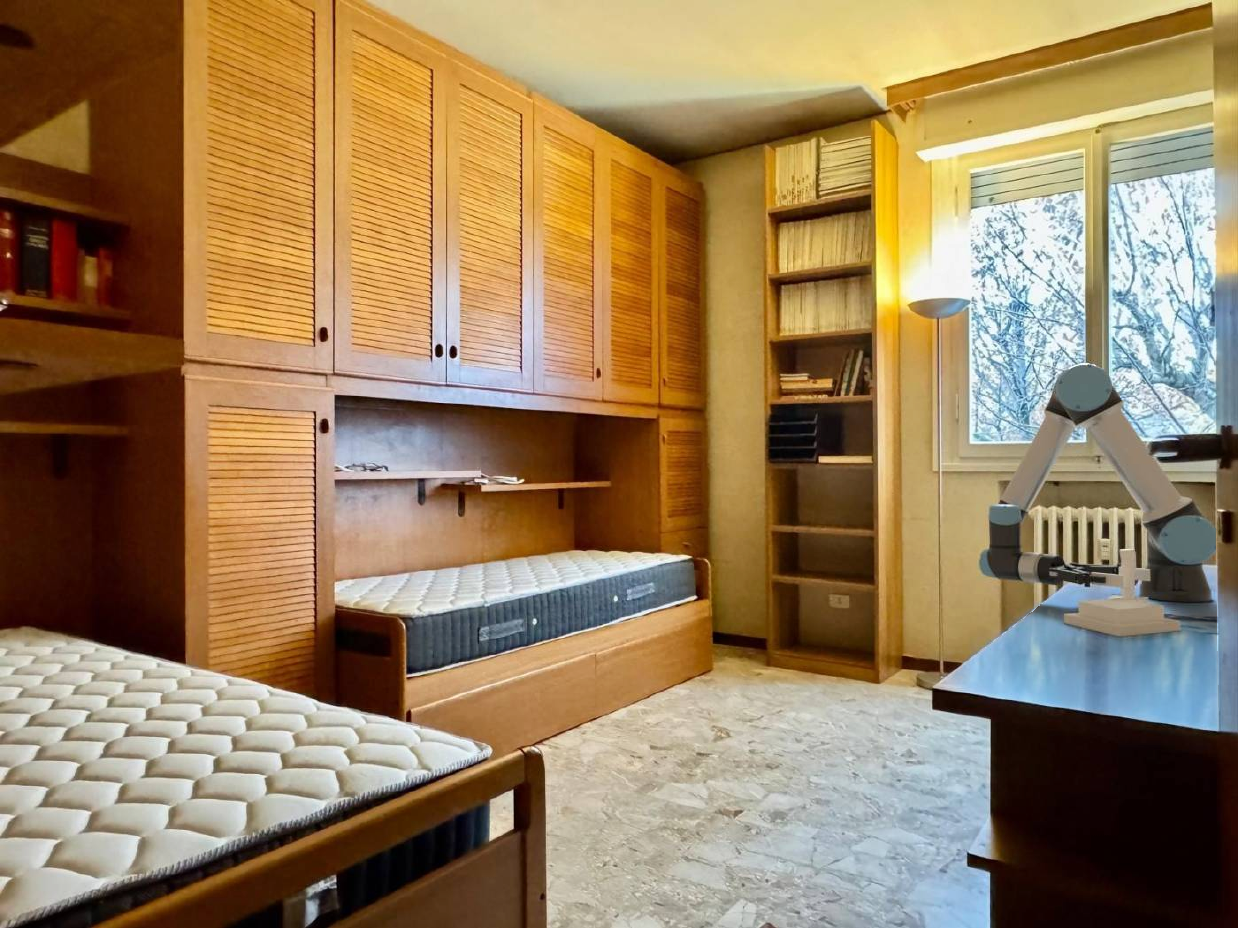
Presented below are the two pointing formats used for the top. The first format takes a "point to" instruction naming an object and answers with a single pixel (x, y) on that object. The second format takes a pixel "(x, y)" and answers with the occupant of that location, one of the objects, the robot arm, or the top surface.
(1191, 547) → the robot arm
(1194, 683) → the top surface
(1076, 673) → the top surface
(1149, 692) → the top surface
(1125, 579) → the figurine
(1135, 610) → the plinth
